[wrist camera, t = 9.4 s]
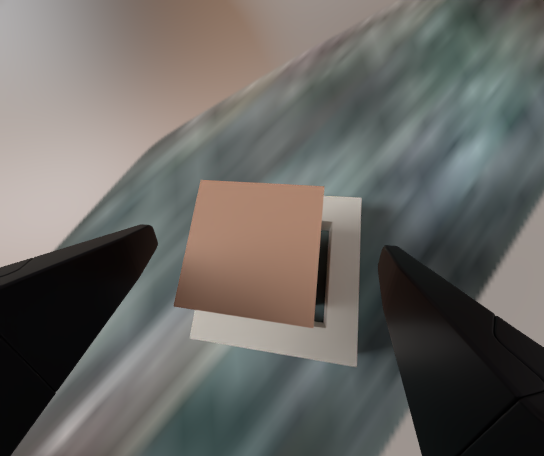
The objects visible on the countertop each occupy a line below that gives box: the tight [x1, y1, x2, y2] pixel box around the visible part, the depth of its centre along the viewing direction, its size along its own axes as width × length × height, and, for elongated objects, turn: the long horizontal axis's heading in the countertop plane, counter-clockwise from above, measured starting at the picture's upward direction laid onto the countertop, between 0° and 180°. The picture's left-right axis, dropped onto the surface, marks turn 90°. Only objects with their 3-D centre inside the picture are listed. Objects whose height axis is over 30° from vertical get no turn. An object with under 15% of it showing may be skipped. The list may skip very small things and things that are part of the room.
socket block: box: [190, 196, 361, 367], centre depth 16 cm, size 10×10×2 cm
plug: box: [174, 180, 324, 328], centre depth 13 cm, size 5×4×10 cm
